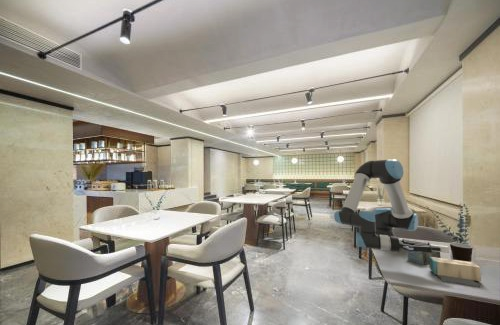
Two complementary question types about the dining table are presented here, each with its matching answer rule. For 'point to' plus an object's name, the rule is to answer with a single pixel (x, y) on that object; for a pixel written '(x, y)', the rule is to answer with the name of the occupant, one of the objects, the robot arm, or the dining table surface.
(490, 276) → the dining table surface
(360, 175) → the robot arm
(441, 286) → the dining table surface
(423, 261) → the beverage carton
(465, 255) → the coffee mug
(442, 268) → the oak block
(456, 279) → the rubber mat
